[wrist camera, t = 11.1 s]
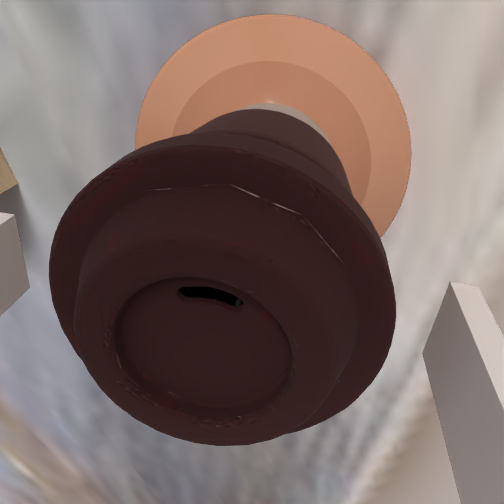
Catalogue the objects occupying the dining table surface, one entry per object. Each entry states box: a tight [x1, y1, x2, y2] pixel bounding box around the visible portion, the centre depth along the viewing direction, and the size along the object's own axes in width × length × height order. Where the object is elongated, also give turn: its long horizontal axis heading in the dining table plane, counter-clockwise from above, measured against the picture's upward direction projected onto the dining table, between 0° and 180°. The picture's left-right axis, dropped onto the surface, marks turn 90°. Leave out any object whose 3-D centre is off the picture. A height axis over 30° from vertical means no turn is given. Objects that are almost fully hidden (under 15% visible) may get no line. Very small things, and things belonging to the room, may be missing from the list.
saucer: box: [135, 14, 411, 238], centre depth 25 cm, size 15×15×1 cm
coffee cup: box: [49, 103, 396, 446], centre depth 18 cm, size 10×10×15 cm
